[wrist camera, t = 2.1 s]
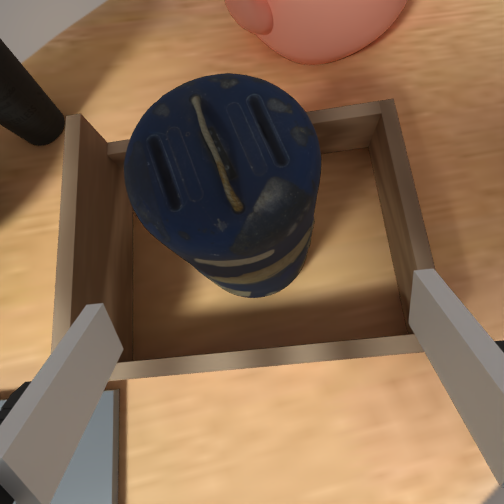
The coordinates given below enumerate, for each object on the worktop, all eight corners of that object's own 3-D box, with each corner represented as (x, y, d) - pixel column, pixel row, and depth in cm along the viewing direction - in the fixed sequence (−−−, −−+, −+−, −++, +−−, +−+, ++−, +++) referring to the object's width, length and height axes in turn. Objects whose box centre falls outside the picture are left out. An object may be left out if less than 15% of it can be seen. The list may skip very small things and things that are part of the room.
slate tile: (-53, 593, 27) (-65, 602, 26) (-30, 402, 31) (-40, 404, 30) (117, 586, 26) (110, 595, 25) (119, 388, 29) (113, 390, 29)
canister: (299, 194, 32) (308, 23, 15) (316, 293, 30) (349, 224, 12) (201, 209, 33) (101, 62, 16) (208, 307, 30) (99, 260, 13)
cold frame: (119, 376, 30) (48, 390, 21) (121, 171, 35) (66, 115, 26) (426, 348, 28) (487, 350, 19) (378, 134, 33) (409, 60, 24)
